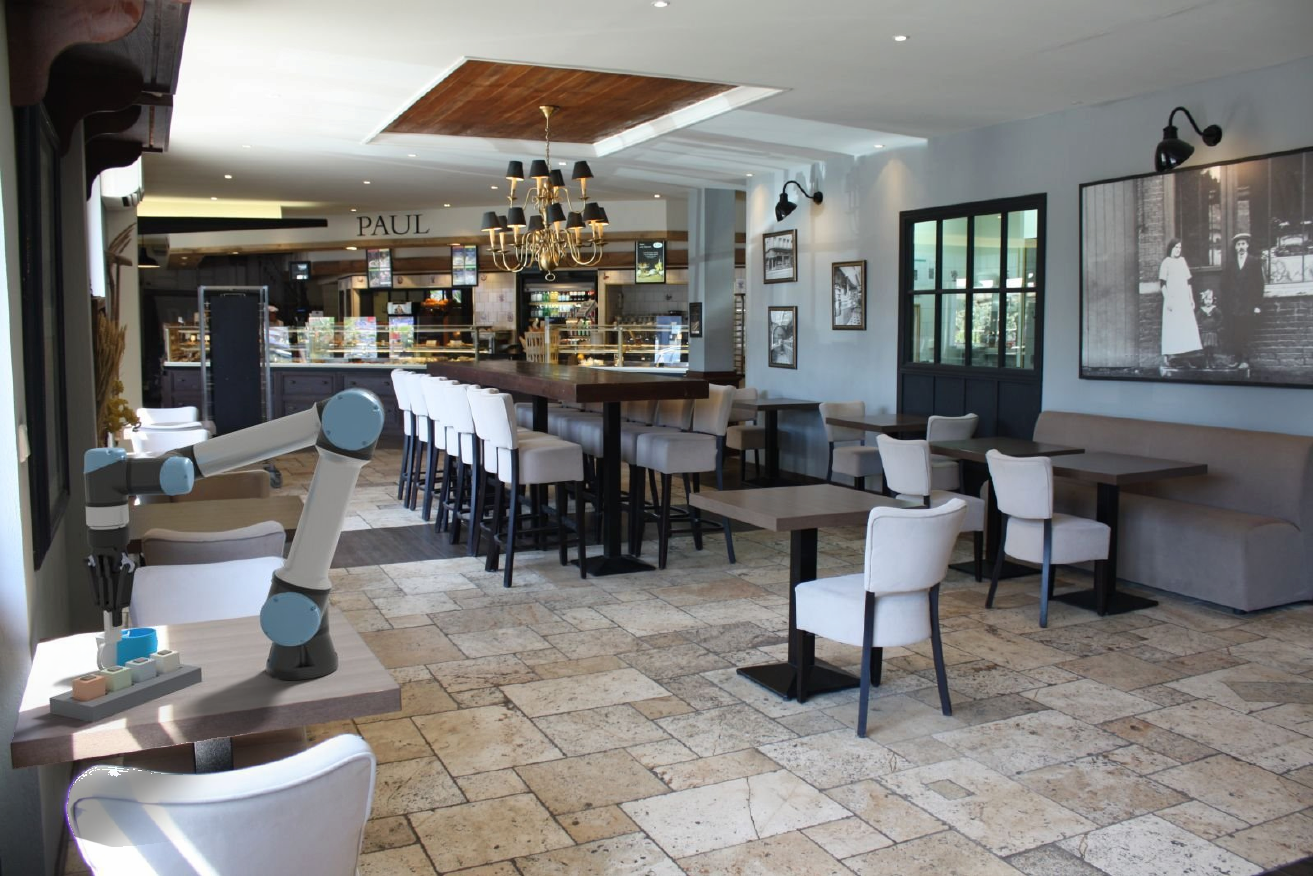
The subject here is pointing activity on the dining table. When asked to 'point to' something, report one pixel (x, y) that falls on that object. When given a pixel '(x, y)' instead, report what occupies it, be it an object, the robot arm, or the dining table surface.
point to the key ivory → (166, 661)
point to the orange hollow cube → (88, 687)
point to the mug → (136, 645)
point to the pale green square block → (116, 678)
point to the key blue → (142, 669)
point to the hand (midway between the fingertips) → (113, 641)
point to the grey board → (125, 695)
